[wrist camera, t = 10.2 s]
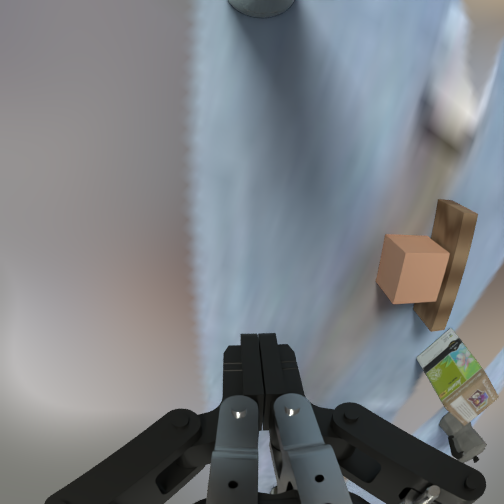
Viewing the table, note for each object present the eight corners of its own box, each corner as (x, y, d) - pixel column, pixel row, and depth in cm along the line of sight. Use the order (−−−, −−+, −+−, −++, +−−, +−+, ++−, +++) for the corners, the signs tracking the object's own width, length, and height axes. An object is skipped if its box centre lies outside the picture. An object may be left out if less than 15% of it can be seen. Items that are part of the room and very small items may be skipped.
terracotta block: (384, 234, 46) (405, 252, 40) (426, 235, 46) (449, 253, 40) (375, 281, 49) (393, 304, 43) (416, 279, 50) (435, 301, 43)
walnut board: (438, 199, 44) (464, 212, 37) (451, 200, 44) (478, 214, 38) (412, 308, 52) (430, 331, 45) (426, 307, 52) (444, 329, 46)
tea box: (413, 358, 57) (444, 409, 44) (450, 325, 55) (488, 372, 41) (438, 383, 62) (464, 428, 48) (469, 355, 59) (501, 397, 46)
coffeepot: (474, 404, 69) (500, 447, 53) (454, 425, 72) (477, 468, 56) (444, 405, 66) (471, 454, 50) (423, 427, 70) (446, 476, 53)
